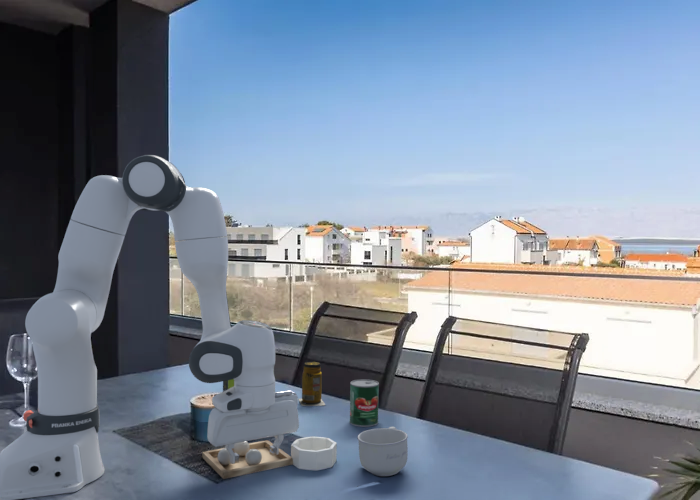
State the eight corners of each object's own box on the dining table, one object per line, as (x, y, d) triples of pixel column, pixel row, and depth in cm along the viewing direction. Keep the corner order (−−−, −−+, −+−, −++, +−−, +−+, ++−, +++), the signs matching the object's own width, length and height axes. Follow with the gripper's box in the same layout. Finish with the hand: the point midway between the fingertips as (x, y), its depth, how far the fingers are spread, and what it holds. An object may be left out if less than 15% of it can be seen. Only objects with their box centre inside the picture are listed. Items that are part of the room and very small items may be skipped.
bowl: (304, 475, 123) (305, 454, 123) (285, 461, 131) (285, 441, 131) (342, 467, 128) (343, 446, 128) (321, 453, 136) (322, 434, 136)
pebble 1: (220, 469, 125) (220, 452, 125) (215, 463, 128) (215, 447, 128) (236, 466, 126) (236, 449, 126) (230, 460, 130) (230, 444, 129)
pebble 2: (236, 459, 130) (237, 443, 130) (231, 454, 133) (231, 438, 133) (252, 456, 132) (252, 440, 132) (245, 451, 135) (246, 436, 135)
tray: (223, 481, 120) (223, 473, 120) (202, 459, 131) (202, 451, 131) (293, 466, 128) (293, 458, 128) (267, 447, 140) (267, 440, 140)
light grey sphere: (248, 470, 124) (248, 453, 124) (242, 464, 127) (242, 448, 127) (264, 466, 126) (264, 450, 126) (257, 461, 129) (258, 445, 129)
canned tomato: (363, 428, 155) (363, 387, 155) (343, 421, 161) (344, 382, 161) (384, 423, 160) (384, 383, 160) (364, 416, 166) (365, 378, 166)
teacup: (392, 485, 119) (393, 446, 119) (347, 473, 125) (348, 436, 125) (421, 464, 131) (422, 428, 131) (379, 454, 136) (379, 420, 136)
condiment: (320, 398, 185) (321, 360, 185) (325, 405, 177) (326, 366, 177) (298, 399, 183) (298, 361, 183) (301, 406, 175) (302, 367, 175)
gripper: (291, 386, 135) (291, 445, 135) (204, 398, 124) (204, 463, 124) (304, 392, 129) (303, 454, 130) (214, 405, 119) (214, 473, 119)
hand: (254, 458), depth 127 cm, fingers open, 8 cm apart
